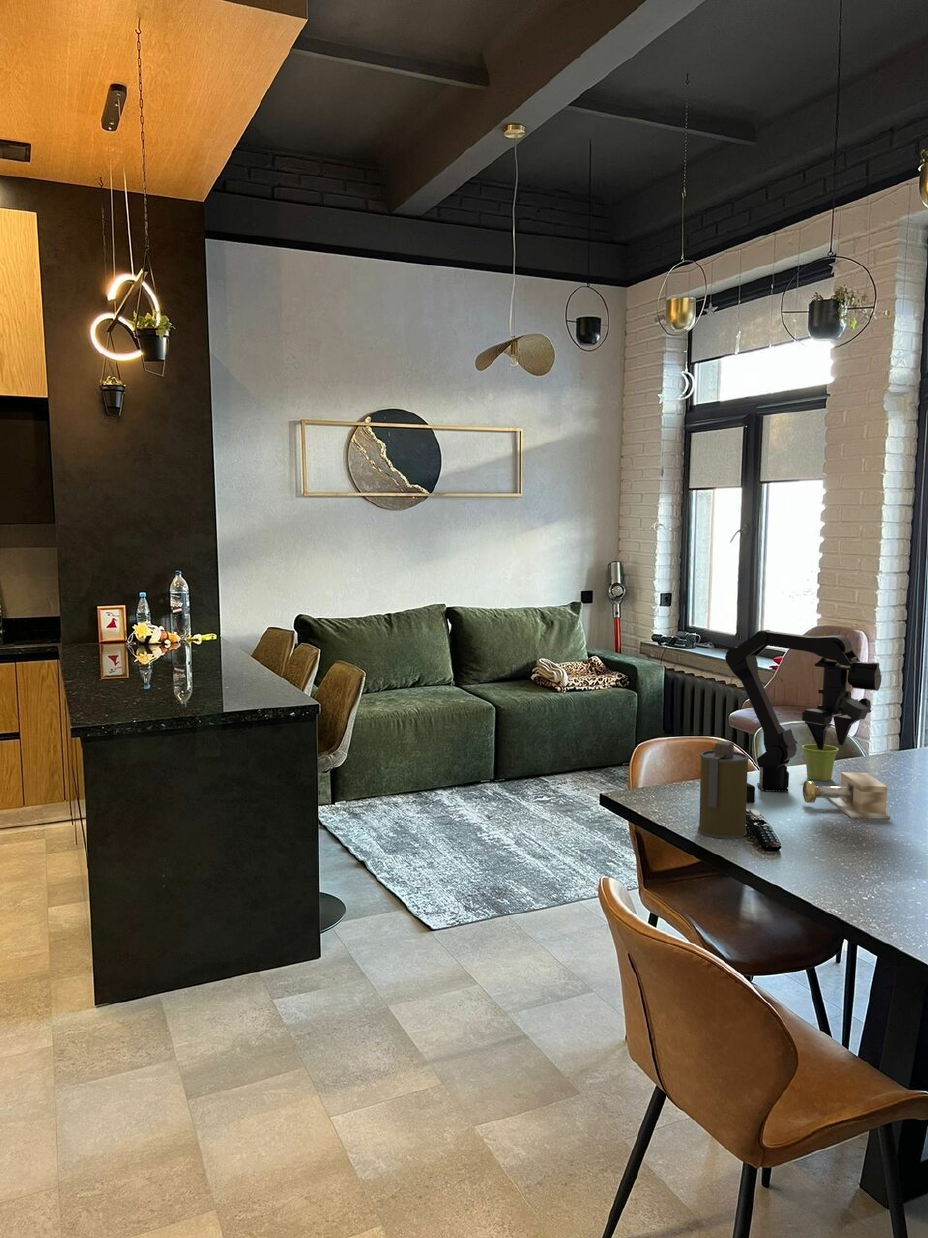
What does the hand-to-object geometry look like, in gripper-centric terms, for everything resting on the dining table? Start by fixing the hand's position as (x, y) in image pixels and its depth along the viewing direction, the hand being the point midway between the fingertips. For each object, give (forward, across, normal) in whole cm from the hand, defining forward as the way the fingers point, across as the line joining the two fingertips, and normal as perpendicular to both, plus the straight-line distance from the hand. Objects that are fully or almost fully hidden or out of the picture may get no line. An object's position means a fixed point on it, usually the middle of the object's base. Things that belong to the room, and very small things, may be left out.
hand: (831, 747), depth 227 cm
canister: (+14, -44, -1) cm, 47 cm away
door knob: (+12, -5, -6) cm, 14 cm away
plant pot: (+14, +17, +13) cm, 25 cm away
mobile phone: (+14, -17, +16) cm, 27 cm away
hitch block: (+13, -2, -8) cm, 16 cm away
